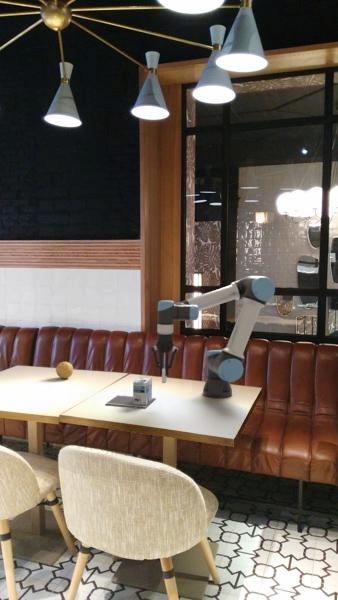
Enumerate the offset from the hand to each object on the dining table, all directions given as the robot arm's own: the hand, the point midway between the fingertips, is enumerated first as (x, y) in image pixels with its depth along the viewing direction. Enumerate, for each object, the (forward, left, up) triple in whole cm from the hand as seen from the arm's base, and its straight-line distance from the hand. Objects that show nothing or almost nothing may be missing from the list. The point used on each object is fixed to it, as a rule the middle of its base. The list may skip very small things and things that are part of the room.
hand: (164, 382), depth 226 cm
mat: (+17, 0, -11) cm, 20 cm away
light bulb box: (+11, 0, -11) cm, 15 cm away
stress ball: (+71, -36, -11) cm, 80 cm away
